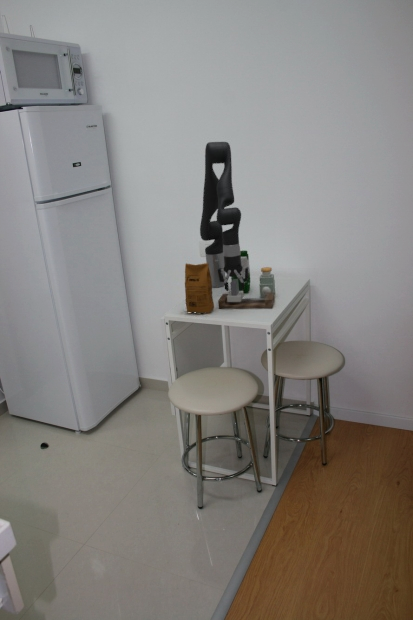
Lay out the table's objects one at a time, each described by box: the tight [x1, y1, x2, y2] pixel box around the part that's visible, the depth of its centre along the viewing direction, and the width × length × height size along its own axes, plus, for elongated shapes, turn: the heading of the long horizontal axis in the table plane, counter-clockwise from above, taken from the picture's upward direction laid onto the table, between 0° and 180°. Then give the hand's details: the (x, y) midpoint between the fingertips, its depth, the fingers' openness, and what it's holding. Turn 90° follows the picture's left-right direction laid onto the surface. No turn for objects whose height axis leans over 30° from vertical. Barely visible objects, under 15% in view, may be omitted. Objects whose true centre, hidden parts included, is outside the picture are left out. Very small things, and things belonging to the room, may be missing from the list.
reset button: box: [260, 266, 273, 277], centre depth 231 cm, size 5×5×4 cm
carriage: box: [227, 279, 245, 302], centre depth 225 cm, size 6×8×8 cm
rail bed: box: [217, 293, 276, 310], centre depth 225 cm, size 24×10×4 cm, turn 77°
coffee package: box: [184, 262, 215, 314], centre depth 221 cm, size 10×12×22 cm
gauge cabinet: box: [259, 273, 276, 298], centre depth 233 cm, size 6×8×10 cm
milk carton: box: [230, 250, 251, 294], centre depth 243 cm, size 9×9×20 cm
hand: (234, 290), depth 225 cm, fingers open, 6 cm apart
